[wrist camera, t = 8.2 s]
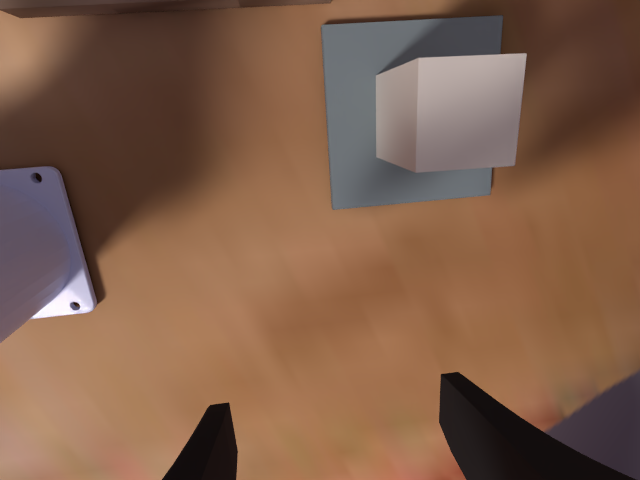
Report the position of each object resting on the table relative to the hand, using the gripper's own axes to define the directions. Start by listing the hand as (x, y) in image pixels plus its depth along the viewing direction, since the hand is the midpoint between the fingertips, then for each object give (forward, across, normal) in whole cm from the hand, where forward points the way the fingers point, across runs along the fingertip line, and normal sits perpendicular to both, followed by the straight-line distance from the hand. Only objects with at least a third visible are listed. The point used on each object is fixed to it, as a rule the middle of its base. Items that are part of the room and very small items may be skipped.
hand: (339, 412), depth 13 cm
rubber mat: (+10, -6, -9) cm, 15 cm away
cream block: (+10, -6, -9) cm, 15 cm away
